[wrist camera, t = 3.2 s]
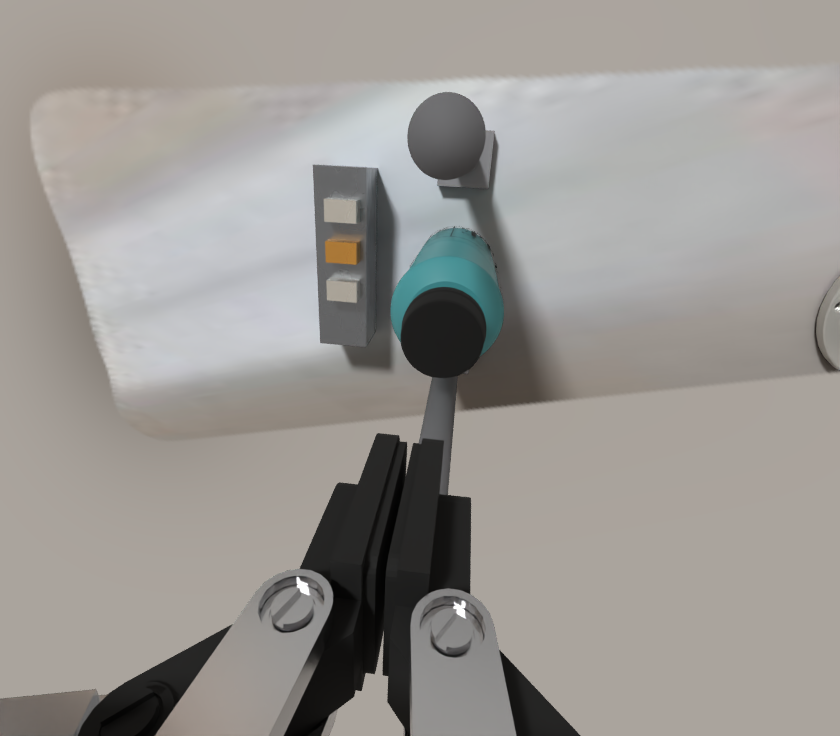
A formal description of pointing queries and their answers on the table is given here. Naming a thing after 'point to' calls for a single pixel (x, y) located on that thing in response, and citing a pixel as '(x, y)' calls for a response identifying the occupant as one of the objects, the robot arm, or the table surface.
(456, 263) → the beverage bottle
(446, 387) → the cord post
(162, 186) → the table surface
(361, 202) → the pdu strip
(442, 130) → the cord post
